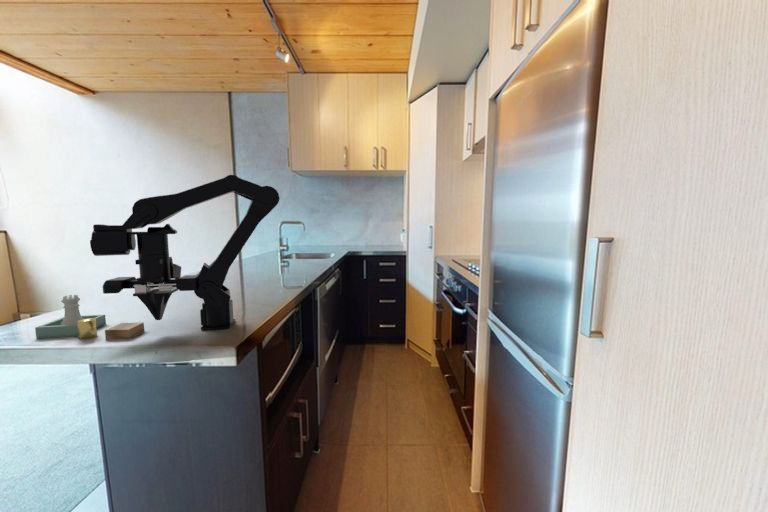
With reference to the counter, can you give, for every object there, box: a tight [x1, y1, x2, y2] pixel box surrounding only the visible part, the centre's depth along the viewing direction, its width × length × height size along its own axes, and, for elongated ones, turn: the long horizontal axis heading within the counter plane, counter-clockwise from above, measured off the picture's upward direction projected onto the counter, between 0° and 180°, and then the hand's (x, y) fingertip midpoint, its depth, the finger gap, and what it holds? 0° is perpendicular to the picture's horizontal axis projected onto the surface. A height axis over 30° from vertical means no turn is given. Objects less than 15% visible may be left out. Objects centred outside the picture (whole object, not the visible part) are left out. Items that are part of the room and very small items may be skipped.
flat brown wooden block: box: [104, 321, 145, 340], centre depth 73 cm, size 5×5×2 cm
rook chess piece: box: [61, 294, 83, 325], centre depth 75 cm, size 4×4×8 cm
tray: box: [34, 314, 107, 339], centre depth 75 cm, size 9×9×2 cm
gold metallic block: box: [77, 318, 98, 340], centre depth 71 cm, size 3×3×4 cm
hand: (158, 319), depth 74 cm, fingers closed
